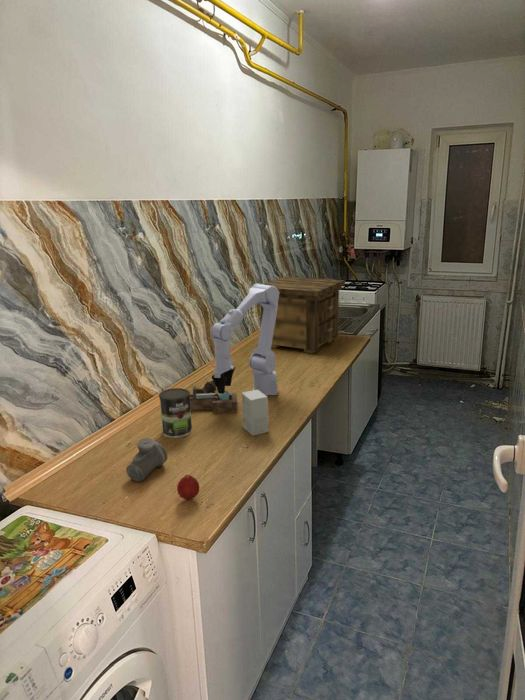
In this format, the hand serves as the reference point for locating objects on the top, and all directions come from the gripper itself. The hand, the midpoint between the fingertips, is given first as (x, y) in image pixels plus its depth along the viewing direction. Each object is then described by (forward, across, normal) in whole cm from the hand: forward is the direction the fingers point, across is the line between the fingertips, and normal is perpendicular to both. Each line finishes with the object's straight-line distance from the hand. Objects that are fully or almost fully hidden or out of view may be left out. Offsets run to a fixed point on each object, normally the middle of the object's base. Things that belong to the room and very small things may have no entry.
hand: (224, 389), depth 193 cm
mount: (+7, -1, +4) cm, 9 cm away
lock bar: (+3, -2, +7) cm, 8 cm away
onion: (+7, -61, -10) cm, 62 cm away
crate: (+8, +88, -13) cm, 90 cm away
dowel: (+7, 0, 0) cm, 7 cm away
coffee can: (+7, -23, +10) cm, 26 cm away
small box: (+8, -16, -16) cm, 24 cm away
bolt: (+8, +11, +11) cm, 18 cm away
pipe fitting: (+7, -50, +8) cm, 52 cm away
